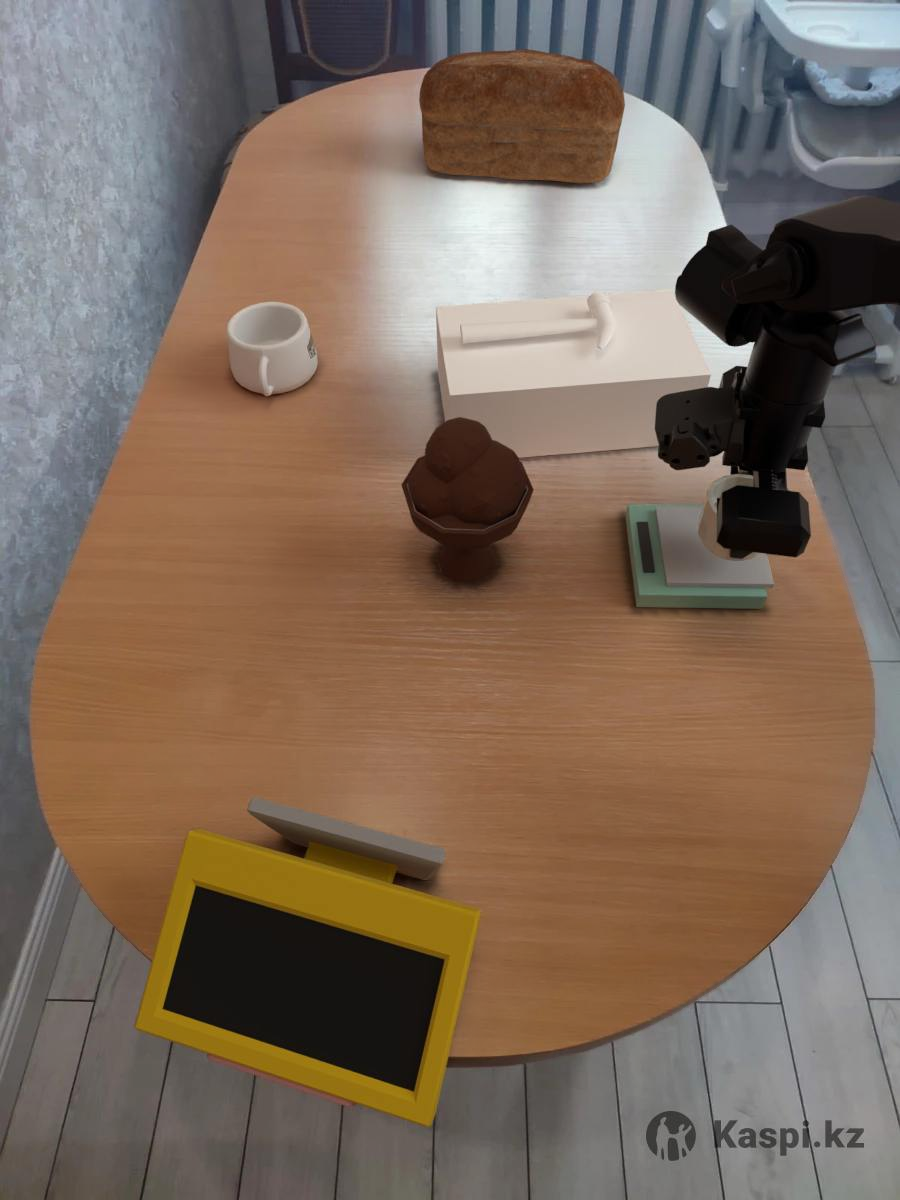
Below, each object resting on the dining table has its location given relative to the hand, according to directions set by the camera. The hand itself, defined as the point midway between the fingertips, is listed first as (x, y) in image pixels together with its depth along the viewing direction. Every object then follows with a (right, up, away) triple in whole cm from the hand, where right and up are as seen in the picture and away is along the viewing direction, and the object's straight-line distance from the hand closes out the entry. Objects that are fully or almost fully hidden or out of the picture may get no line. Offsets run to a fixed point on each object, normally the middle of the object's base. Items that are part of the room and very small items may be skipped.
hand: (735, 529), depth 76 cm
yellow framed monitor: (-31, -22, -14) cm, 40 cm away
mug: (-44, +19, +24) cm, 53 cm away
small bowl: (0, -1, +1) cm, 1 cm away
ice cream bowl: (-23, -3, +7) cm, 24 cm away
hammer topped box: (-13, +14, +20) cm, 28 cm away
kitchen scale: (-2, -2, +6) cm, 7 cm away
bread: (-14, +56, +53) cm, 79 cm away
